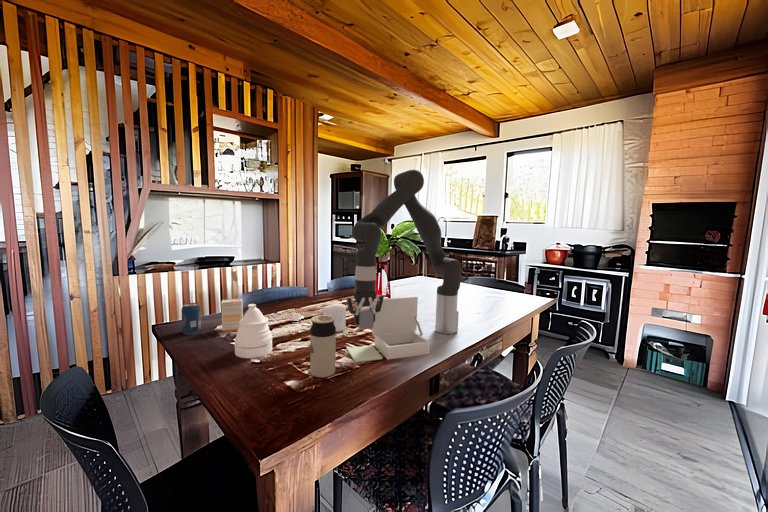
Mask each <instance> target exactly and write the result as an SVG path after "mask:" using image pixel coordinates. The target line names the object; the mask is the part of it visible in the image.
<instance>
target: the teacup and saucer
mask: <svg viewBox="0 0 768 512" xmlns="http://www.w3.org/2000/svg"><path fill="white" fill-rule="evenodd" d="M304 318H305V316H304V315H301V314H300V312H293V313H292V316H291V319H293V320H292V321H293V322H294V321H298V322H299V321H302V320H301V319H304Z"/></svg>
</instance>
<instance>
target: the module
mask: <svg viewBox="0 0 768 512" xmlns="http://www.w3.org/2000/svg"><path fill="white" fill-rule="evenodd" d="M358 315H359V325H356V327H357V328H358V329H359V330H365V329H366V330H367V329H372V328H373V316H374V312H373V311H372V310H371V309H370V308H369V307H368V308H367V307H366V308H361V310H360V312H359V314H358Z"/></svg>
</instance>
